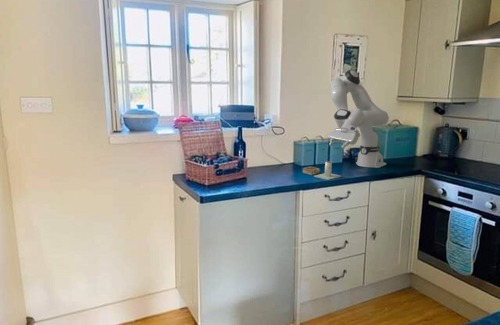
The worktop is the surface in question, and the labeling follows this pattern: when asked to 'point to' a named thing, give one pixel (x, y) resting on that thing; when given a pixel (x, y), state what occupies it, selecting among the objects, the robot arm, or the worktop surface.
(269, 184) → the worktop surface
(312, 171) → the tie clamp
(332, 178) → the tile pad
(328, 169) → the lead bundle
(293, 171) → the worktop surface
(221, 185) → the worktop surface
